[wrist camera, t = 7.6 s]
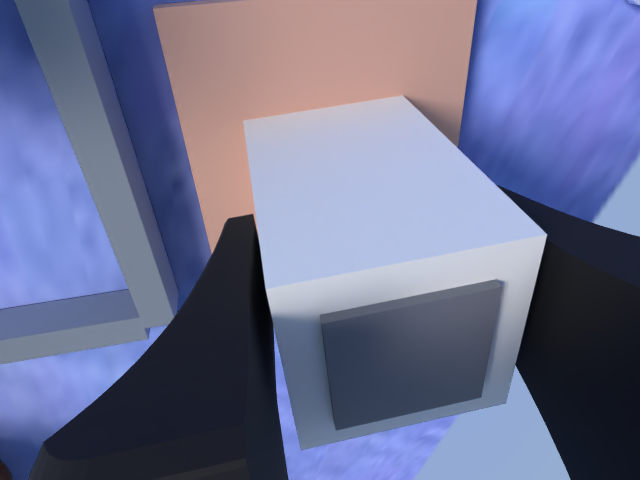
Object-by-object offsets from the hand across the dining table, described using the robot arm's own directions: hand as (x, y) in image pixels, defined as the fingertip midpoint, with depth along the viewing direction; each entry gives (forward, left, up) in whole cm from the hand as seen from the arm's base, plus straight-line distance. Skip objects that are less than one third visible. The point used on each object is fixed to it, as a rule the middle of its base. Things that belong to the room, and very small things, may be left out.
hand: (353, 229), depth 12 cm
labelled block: (0, 0, -3) cm, 3 cm away
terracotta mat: (0, 0, -3) cm, 3 cm away
